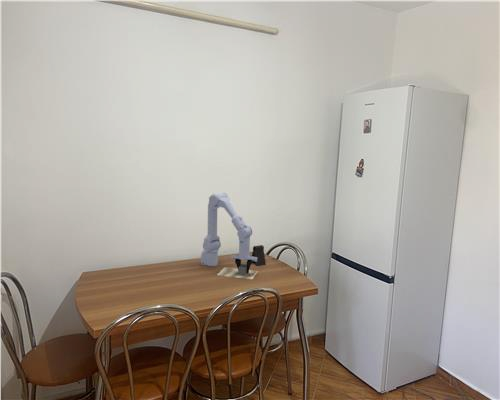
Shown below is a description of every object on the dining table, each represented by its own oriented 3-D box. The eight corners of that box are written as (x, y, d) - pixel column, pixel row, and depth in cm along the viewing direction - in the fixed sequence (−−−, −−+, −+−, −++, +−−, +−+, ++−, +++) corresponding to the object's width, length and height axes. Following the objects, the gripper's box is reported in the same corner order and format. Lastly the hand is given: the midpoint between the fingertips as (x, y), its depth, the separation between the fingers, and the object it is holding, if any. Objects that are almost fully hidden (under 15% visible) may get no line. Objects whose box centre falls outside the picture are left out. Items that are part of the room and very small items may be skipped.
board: (216, 276, 198) (216, 275, 198) (224, 268, 211) (224, 267, 211) (252, 281, 193) (252, 279, 193) (258, 272, 207) (258, 270, 207)
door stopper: (266, 266, 218) (266, 247, 216) (257, 268, 215) (258, 248, 213) (257, 262, 225) (258, 243, 224) (249, 263, 222) (250, 244, 220)
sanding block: (238, 275, 198) (238, 267, 197) (241, 270, 206) (242, 263, 205) (245, 276, 197) (245, 268, 196) (248, 271, 205) (249, 263, 204)
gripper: (229, 249, 197) (228, 273, 199) (255, 251, 194) (254, 276, 196) (233, 246, 204) (232, 269, 206) (258, 248, 201) (257, 272, 203)
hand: (243, 272), depth 201 cm, fingers closed on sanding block, 4 cm apart
